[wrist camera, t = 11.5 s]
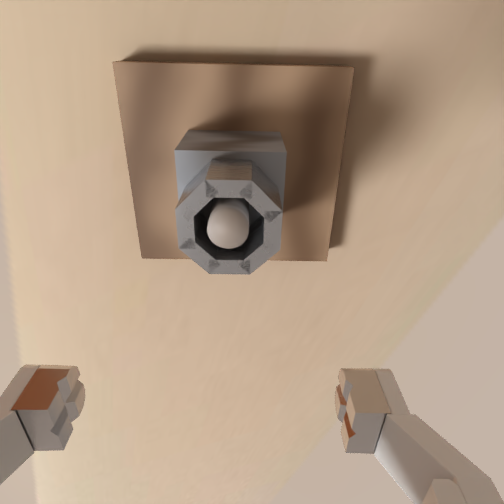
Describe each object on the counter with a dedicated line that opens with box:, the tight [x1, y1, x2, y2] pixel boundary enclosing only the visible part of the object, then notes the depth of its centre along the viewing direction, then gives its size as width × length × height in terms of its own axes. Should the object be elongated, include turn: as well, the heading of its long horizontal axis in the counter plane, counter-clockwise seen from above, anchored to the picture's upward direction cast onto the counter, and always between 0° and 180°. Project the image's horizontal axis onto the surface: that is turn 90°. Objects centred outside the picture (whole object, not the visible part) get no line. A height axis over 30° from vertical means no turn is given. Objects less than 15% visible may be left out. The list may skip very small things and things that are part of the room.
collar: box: [175, 159, 283, 274], centre depth 23 cm, size 6×6×4 cm
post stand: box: [113, 61, 354, 261], centre depth 26 cm, size 17×16×12 cm
